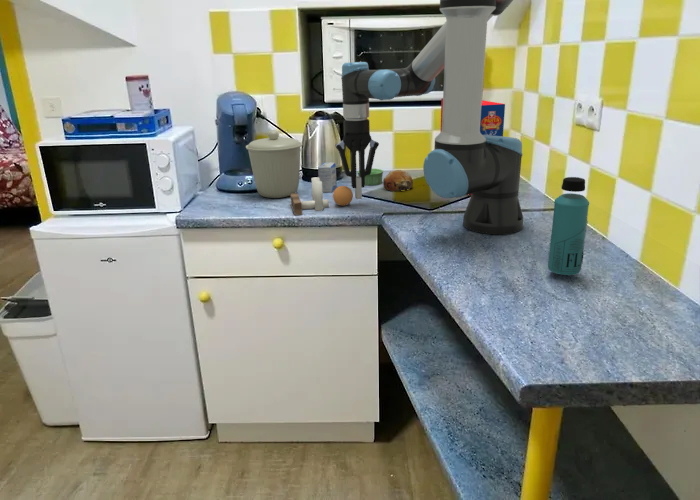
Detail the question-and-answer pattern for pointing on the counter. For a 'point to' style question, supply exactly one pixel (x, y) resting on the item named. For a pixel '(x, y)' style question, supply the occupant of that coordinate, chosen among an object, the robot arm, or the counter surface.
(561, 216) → the beverage bottle
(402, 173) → the bread roll
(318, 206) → the pin
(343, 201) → the ball
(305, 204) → the pin front
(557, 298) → the counter surface
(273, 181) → the canister
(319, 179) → the pin
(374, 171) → the ramekin
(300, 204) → the back rail
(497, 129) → the pasta box
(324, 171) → the medicine box
